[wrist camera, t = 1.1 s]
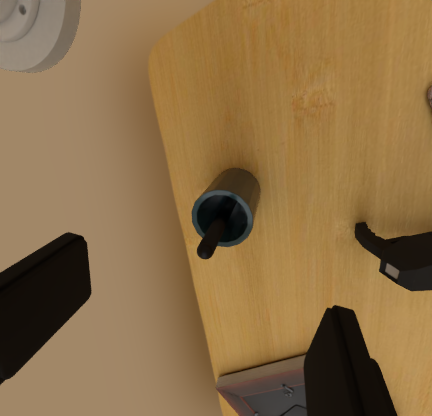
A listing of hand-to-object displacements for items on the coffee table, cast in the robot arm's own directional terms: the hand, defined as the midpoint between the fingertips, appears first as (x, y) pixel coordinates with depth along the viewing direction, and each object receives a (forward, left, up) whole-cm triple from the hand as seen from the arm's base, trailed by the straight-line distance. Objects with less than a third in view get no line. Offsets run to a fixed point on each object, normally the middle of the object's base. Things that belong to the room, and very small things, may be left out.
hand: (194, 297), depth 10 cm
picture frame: (+32, -20, -21) cm, 43 cm away
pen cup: (+1, -3, -21) cm, 21 cm away
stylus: (+1, -3, -20) cm, 20 cm away
